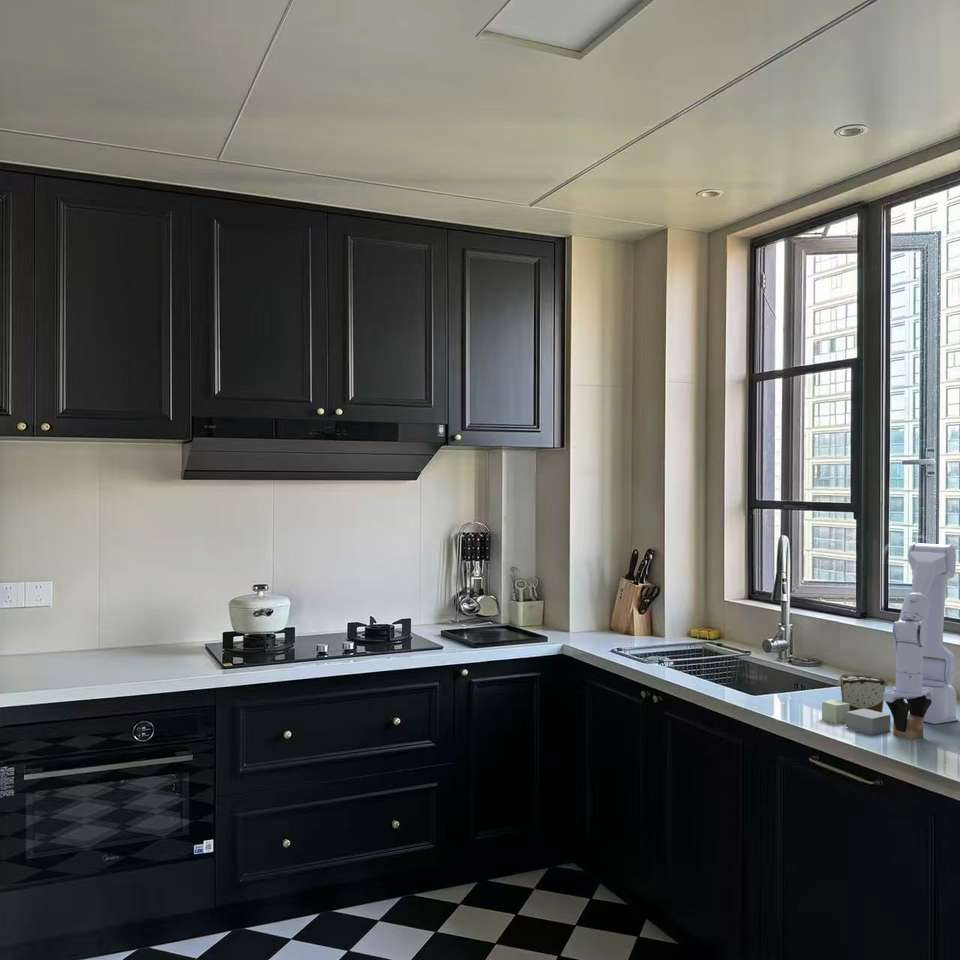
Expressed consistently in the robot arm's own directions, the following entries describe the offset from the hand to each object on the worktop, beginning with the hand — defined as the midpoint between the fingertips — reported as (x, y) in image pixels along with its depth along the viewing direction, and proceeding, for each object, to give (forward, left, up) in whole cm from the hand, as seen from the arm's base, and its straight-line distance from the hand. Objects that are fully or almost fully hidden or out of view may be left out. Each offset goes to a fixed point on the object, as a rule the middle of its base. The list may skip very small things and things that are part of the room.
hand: (908, 729), depth 213 cm
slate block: (+4, -8, -2) cm, 9 cm away
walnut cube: (0, 0, -1) cm, 1 cm away
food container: (-5, -19, -2) cm, 20 cm away
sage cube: (+5, -17, -2) cm, 18 cm away
